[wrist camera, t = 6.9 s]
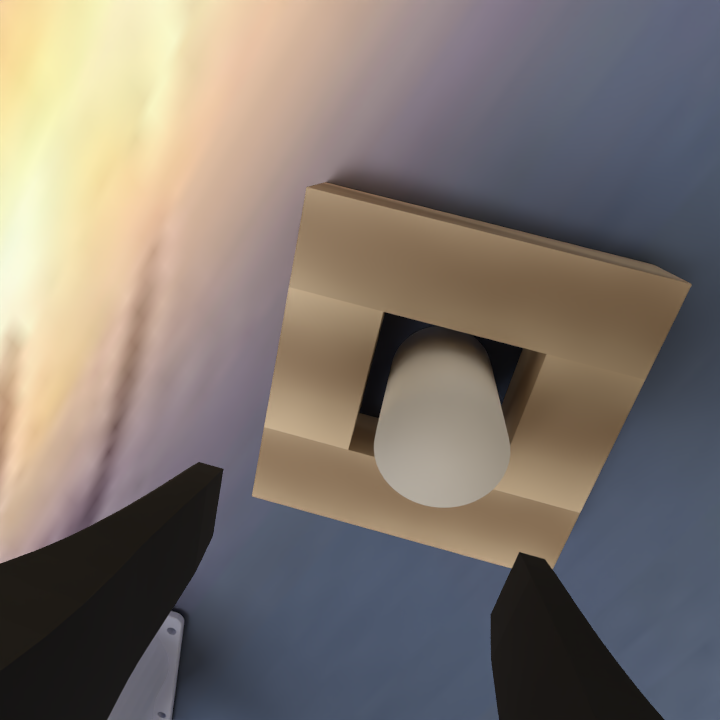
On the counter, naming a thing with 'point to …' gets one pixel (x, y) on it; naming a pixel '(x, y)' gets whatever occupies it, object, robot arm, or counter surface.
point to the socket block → (472, 316)
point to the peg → (441, 421)
